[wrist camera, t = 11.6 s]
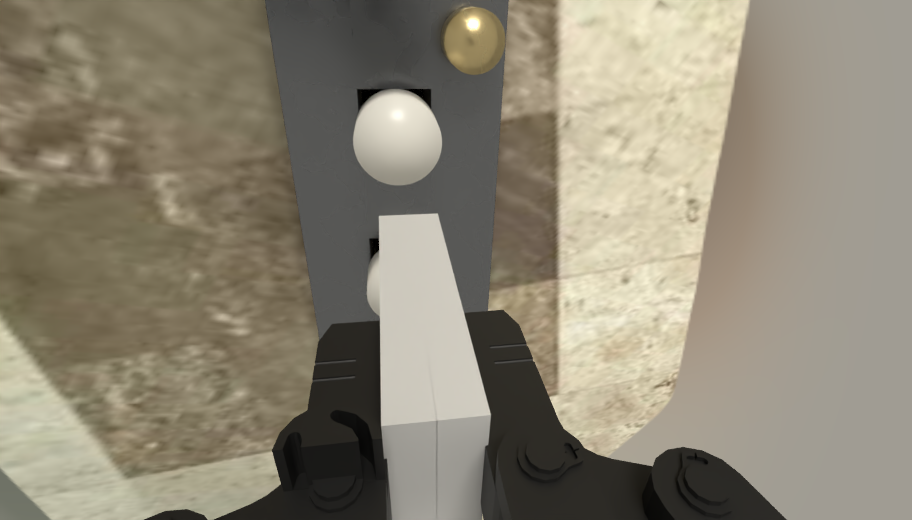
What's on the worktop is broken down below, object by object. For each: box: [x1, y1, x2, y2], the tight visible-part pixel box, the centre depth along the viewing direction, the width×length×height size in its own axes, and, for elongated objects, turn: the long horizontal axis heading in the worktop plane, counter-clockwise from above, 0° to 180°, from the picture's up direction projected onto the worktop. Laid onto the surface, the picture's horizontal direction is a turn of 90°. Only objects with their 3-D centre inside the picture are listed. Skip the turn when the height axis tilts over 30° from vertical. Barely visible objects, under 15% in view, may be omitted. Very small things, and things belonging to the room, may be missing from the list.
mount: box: [265, 0, 508, 340], centre depth 28 cm, size 30×12×5 cm, turn 179°
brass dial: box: [440, 6, 505, 75], centre depth 24 cm, size 3×3×2 cm
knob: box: [367, 251, 380, 316], centre depth 31 cm, size 4×4×8 cm
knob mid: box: [353, 89, 442, 185], centre depth 27 cm, size 4×4×8 cm
